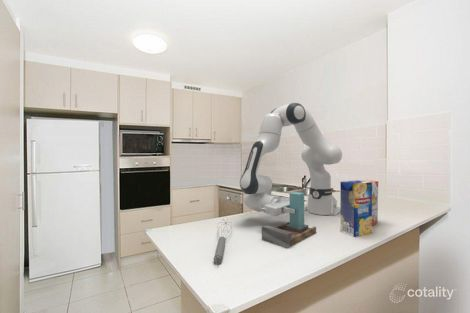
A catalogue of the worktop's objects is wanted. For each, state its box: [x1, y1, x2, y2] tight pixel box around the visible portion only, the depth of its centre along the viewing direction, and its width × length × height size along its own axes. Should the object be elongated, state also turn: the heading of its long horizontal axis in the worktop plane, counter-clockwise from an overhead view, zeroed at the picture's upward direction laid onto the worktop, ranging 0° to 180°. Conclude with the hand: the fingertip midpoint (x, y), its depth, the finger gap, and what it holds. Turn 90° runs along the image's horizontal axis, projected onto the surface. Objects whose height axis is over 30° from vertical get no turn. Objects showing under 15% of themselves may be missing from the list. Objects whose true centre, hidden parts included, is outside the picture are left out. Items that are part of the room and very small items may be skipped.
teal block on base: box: [286, 191, 309, 233], centre depth 97 cm, size 7×7×16 cm
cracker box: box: [364, 179, 379, 226], centre depth 108 cm, size 14×6×21 cm, turn 129°
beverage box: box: [339, 179, 373, 238], centre depth 97 cm, size 7×11×22 cm, turn 114°
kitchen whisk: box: [213, 219, 233, 266], centre depth 84 cm, size 6×34×6 cm, turn 178°
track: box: [261, 221, 317, 249], centre depth 93 cm, size 22×12×5 cm, turn 134°
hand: (298, 210), depth 97 cm, fingers closed on teal block on base, 4 cm apart
